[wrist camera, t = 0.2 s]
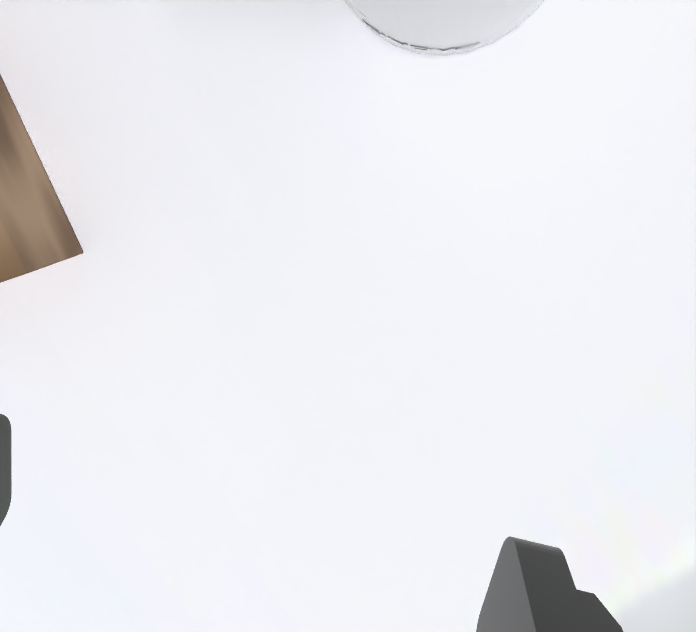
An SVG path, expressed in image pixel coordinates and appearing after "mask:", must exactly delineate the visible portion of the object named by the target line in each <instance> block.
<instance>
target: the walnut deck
mask: <svg viewBox="0 0 696 632" xmlns="http://www.w3.org/2000/svg"><path fill="white" fill-rule="evenodd" d="M82 253H83V251H82V248H81V246H80V244H79V242H78V240H77V238H76V236H75V234H74V231H73V229H72V227H71V225H70V223H69V221H68V219H67V216H66V214H65V212H64V210H63V208H62V206H61V204H60V202H59V199H58V197H57V195H56V193H55V191H54V189H53V187H52V184H51V182H50V180H49V178H48V176H47V174H46V172H45V170H44V167H43V165H42V163H41V161H40V159H39V157H38V155H37V152H36V150H35V148H34V146H33V144H32V142H31V140H30V138H29V135H28V133H27V131H26V129H25V127H24V125H23V123H22V120H21V118H20V116H19V114H18V112H17V110H16V108H15V106H14V103H13V101H12V99H11V97H10V95H9V93H8V91H7V88H6V86H5V84H4V82H3V80H2V78H1V76H0V283H1V282H4V281H6V280H9V279H12V278H15V277H18V276H21V275H24V274H27V273H29V272H32V271H35V270H38V269H41V268H43V267H46V266H49V265H52V264H54V263H57V262H60V261H63V260H65V259H68V258H71V257H74V256H77V255H79V254H82Z"/></svg>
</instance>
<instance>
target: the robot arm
mask: <svg viewBox="0 0 696 632" xmlns="http://www.w3.org/2000/svg"><path fill="white" fill-rule="evenodd" d="M346 1H347V3H348V4H349V6H350V7H351V9H352V10H353V12H354V13H355V14H356V16H357V17H358V18H359V19H360V20H361V21H362V22H363V23H364V24H366V25H367V26H368V27H369V28H370V29H371V30H372V31H373V32H374V33H375V34H377V35H378V36H380V37H382V38H383V39H385V40H386V41H388V42H390V43H391V44H393V45H395V46H397V47H400V48H403V49H406V50H409V51H412V52H416V53H419V54H431V55H443V56H444V55H450V54H457V53H464V52H469V51H472V50H475V49H477V48H480V47H483V46H485V45H488V44H491V43H493V42H495V41H496V40H498V39H499V38H501V37H503V36H504V35H506V34H507V33H509V32H510V31H512V30H514V29H515V28H517V27H518V26H519V25H520V24H521V23H522V22H523V21H524V20H525V19H526V18H527V17H528V16H529V15H530V14H531V13H533V12H534V11H535V10H536V9H537V8H538V7H539V6H540V4H541V3H542V2H543V1H544V0H346ZM10 502H11V425H10V422H9V420H8V418H7V417H6V416H4V415H2V414H0V525H1V524H2V522H3V520H4V518H5V516H6V514H7V512H8V509H9V506H10ZM476 632H623V630H622V628H621V626H620V625H619V624H618V623H617V621H616V620H615V619H614V618H613V616H612V615H611V614H610V613H609V611H608V610H607V609H606V608H605V607H604V605H603V604H602V603H601V602H600V600H599V599H598V598H597V597H596V595H595V594H593V593H589V592H584V591H580V590H576V587H575V585H574V582H573V579H572V576H571V573H570V570H569V567H568V565H567V562H566V559H565V556H564V554H563V552H562V551H561V550H560V549H559V548H556V547H552V546H548V545H543V544H539V543H535V542H531V541H526V540H522V539H518V538H514V537H508V538H507V539H506V540H505V541H504V543H503V545H502V548H501V551H500V554H499V557H498V560H497V563H496V566H495V569H494V572H493V575H492V578H491V581H490V584H489V587H488V591H487V594H486V597H485V600H484V603H483V606H482V609H481V612H480V615H479V619H478V624H477V631H476Z"/></svg>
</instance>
